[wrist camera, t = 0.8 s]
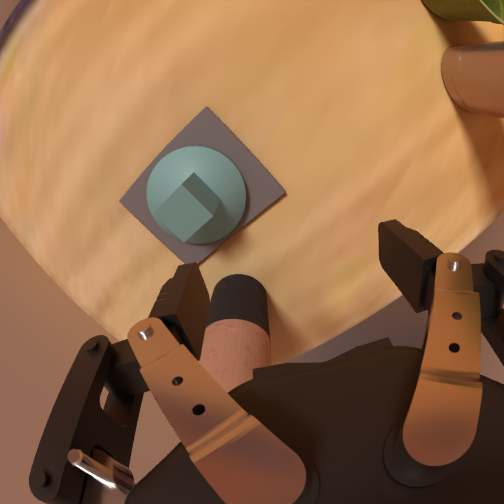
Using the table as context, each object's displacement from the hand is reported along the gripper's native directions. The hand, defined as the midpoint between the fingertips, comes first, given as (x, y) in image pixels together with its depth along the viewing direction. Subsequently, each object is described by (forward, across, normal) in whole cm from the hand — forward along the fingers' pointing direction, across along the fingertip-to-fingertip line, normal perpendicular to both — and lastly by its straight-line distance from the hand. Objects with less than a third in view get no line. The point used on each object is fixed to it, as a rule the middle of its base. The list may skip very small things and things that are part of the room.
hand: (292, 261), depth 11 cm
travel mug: (+20, +7, +15) cm, 26 cm away
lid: (+19, +8, 0) cm, 20 cm away
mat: (+19, +8, 0) cm, 21 cm away
